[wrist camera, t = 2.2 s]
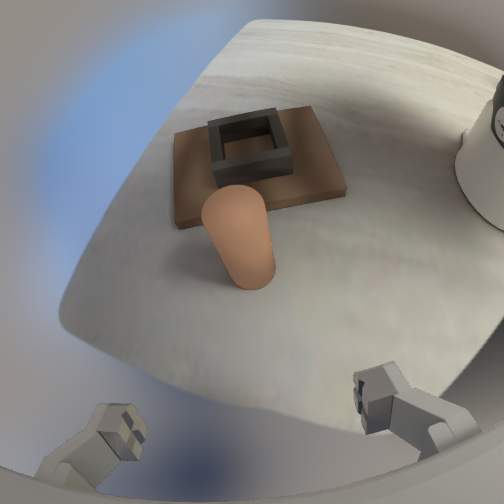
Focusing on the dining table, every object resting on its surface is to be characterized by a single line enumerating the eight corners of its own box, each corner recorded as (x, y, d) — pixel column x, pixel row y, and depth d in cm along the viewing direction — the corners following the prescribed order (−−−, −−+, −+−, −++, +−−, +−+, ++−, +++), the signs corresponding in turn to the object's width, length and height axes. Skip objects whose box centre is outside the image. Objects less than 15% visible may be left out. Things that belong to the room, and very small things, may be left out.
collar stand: (310, 114, 39) (310, 87, 35) (345, 196, 32) (349, 169, 28) (178, 141, 40) (167, 117, 36) (179, 229, 33) (164, 206, 29)
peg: (271, 243, 31) (259, 179, 22) (279, 285, 29) (270, 231, 20) (227, 252, 31) (199, 192, 22) (232, 294, 29) (204, 245, 20)
